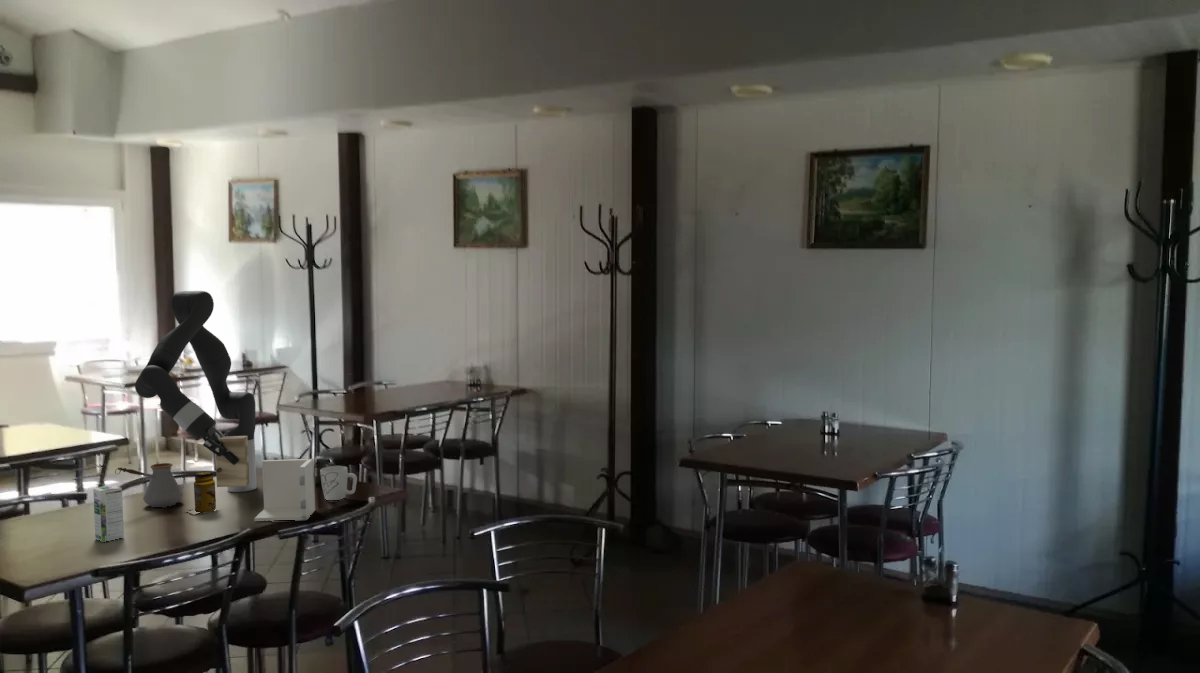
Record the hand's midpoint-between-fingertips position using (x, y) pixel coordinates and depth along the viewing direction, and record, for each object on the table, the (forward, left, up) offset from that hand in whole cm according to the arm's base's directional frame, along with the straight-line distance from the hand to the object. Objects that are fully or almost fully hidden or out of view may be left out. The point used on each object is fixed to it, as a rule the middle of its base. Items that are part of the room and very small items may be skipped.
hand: (239, 460), depth 272 cm
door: (0, -2, -7) cm, 7 cm away
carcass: (-7, +11, -19) cm, 23 cm away
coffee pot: (-24, -35, -19) cm, 47 cm away
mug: (-27, +23, -19) cm, 40 cm away
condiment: (-18, -17, -19) cm, 31 cm away
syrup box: (+10, -33, -19) cm, 39 cm away
